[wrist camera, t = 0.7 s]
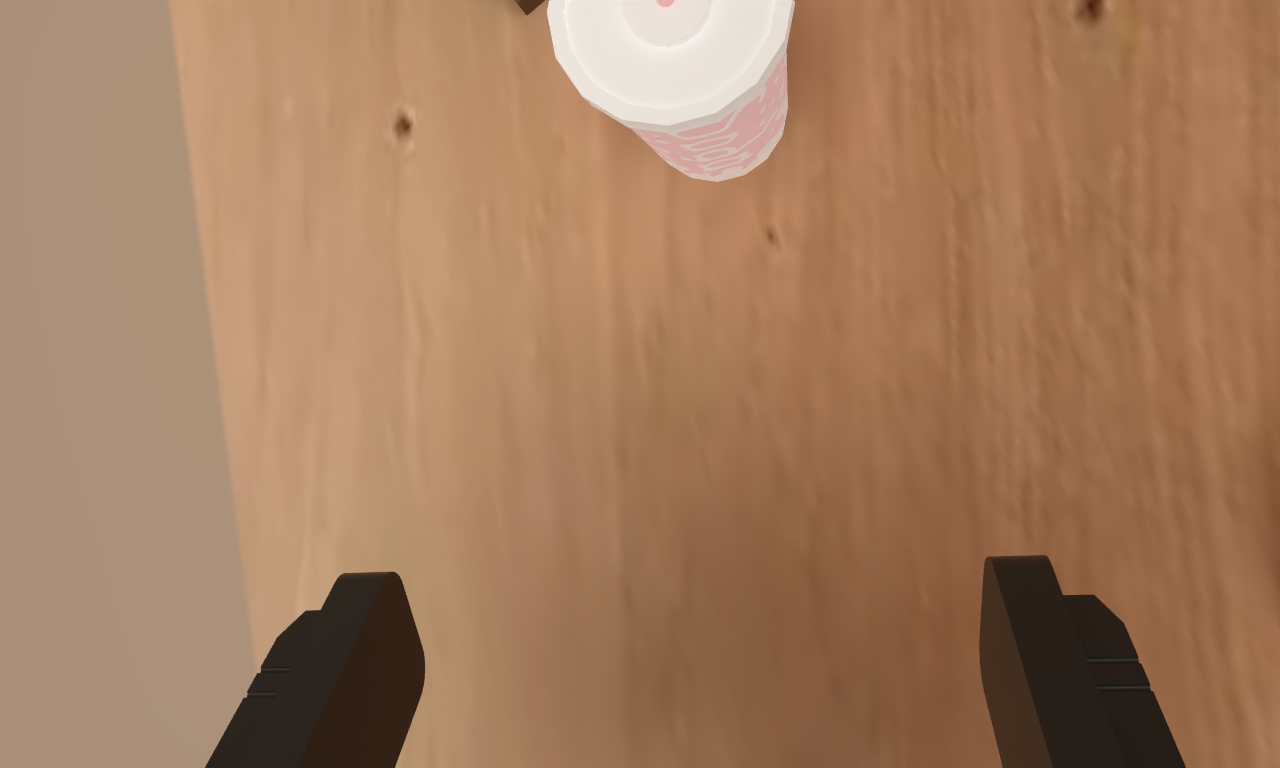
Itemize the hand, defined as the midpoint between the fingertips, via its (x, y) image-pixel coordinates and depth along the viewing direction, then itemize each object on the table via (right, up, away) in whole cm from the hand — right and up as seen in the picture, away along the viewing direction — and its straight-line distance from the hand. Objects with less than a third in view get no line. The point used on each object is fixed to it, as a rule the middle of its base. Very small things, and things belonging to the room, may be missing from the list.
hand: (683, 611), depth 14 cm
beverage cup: (+2, +12, +20) cm, 23 cm away
